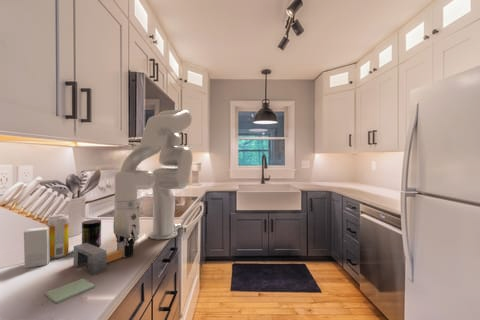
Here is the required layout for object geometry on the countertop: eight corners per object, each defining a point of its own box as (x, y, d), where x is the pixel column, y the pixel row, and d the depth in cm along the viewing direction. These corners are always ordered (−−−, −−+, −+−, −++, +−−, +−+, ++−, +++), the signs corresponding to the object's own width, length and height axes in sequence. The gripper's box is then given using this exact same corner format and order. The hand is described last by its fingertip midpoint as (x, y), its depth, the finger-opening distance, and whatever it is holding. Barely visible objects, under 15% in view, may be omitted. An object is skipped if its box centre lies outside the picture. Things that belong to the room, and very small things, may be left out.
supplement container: (95, 250, 93) (96, 223, 93) (77, 250, 92) (77, 223, 92) (104, 244, 100) (104, 219, 100) (87, 244, 99) (87, 219, 99)
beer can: (65, 251, 91) (65, 212, 91) (70, 255, 88) (70, 214, 88) (45, 256, 87) (46, 215, 87) (50, 260, 83) (50, 217, 83)
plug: (126, 251, 91) (126, 239, 91) (133, 254, 88) (133, 242, 88) (86, 265, 79) (86, 251, 79) (93, 268, 76) (93, 254, 76)
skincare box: (50, 260, 83) (50, 225, 83) (47, 265, 79) (47, 229, 79) (27, 263, 80) (27, 228, 80) (23, 269, 76) (23, 231, 76)
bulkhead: (86, 261, 83) (86, 242, 83) (106, 270, 76) (106, 250, 76) (73, 265, 79) (73, 246, 79) (92, 275, 72) (93, 254, 72)
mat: (82, 280, 70) (82, 278, 70) (94, 287, 66) (95, 285, 66) (45, 294, 62) (45, 292, 62) (56, 303, 58) (56, 301, 58)
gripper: (148, 205, 87) (148, 255, 87) (122, 201, 96) (122, 246, 96) (129, 209, 80) (129, 263, 80) (103, 204, 89) (103, 252, 89)
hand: (125, 253), depth 88 cm, fingers closed on plug, 4 cm apart
